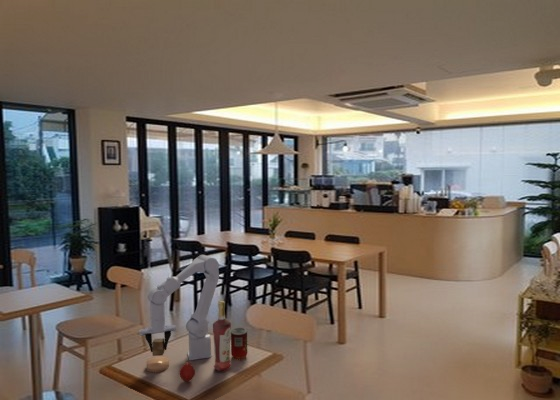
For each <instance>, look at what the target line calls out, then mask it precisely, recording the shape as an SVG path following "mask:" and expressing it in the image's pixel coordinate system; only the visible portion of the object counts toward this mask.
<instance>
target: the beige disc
mask: <svg viewBox="0 0 560 400" xmlns="http://www.w3.org/2000/svg"><path fill="white" fill-rule="evenodd" d="M145 365H146V366H145V367H146V371H147V372H150V373H160V372H163V371H165V370H167V369H168V368H169V367H170V359H169V358H168V356H164V355H162V356H152V357H151V358H149V359H147V360H146V363H145Z"/></svg>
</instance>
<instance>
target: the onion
mask: <svg viewBox="0 0 560 400" xmlns="http://www.w3.org/2000/svg"><path fill="white" fill-rule="evenodd" d="M195 375H196V370H195V367H194V365H192V364H191V363H189V362H188V361H186V362H185V364H183V365H182V366H181V367H180V370H179V378H180V379H181V380H183V381H184V382H185V383H189V382H190V381H192V380H193V379H194V377H195Z"/></svg>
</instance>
